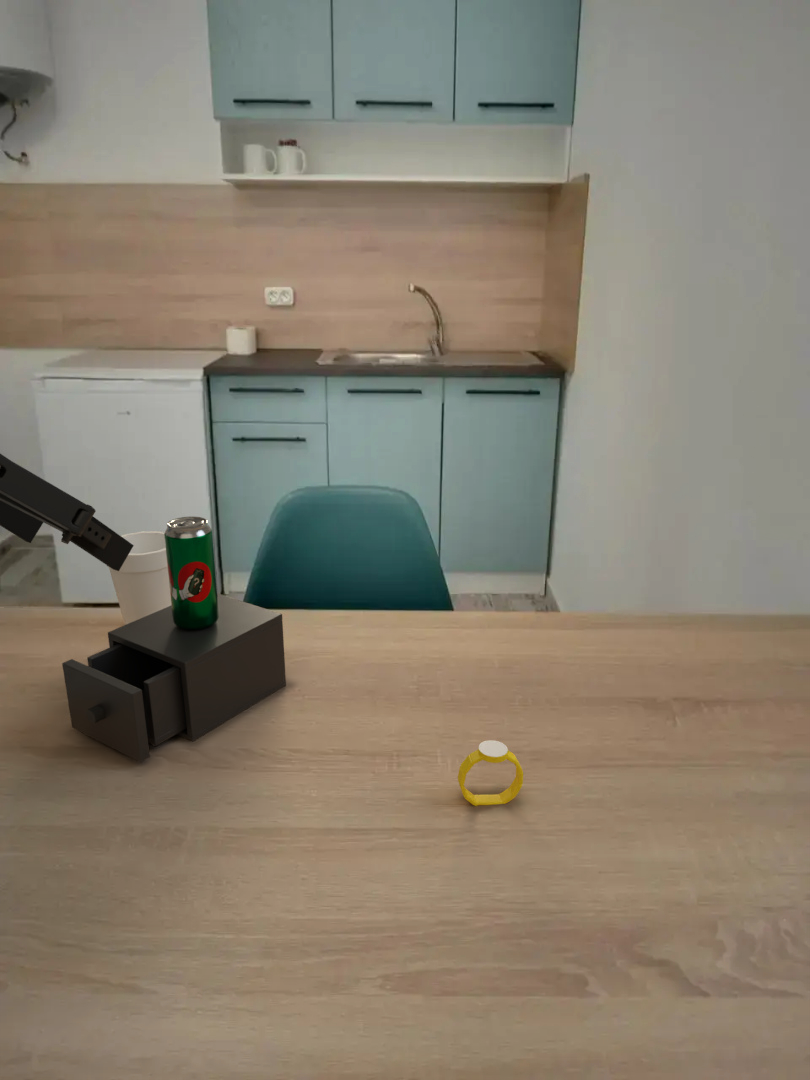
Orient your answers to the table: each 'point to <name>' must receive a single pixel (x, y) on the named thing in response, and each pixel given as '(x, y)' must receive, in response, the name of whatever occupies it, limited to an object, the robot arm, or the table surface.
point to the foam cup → (143, 577)
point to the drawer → (125, 699)
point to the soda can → (191, 573)
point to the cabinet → (215, 659)
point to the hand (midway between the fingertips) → (78, 543)
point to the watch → (493, 754)
